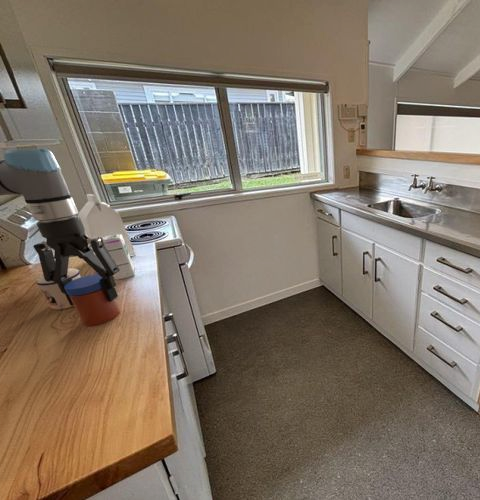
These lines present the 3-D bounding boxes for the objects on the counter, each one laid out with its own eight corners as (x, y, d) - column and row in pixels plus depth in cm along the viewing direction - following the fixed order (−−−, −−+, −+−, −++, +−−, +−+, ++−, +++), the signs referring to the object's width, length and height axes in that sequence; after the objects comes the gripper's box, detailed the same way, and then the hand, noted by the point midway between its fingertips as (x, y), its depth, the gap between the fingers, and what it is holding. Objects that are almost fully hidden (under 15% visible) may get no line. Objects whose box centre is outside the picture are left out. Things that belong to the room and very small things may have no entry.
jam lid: (89, 295, 69) (86, 289, 69) (57, 296, 70) (53, 289, 69) (117, 279, 77) (114, 273, 76) (87, 279, 77) (85, 273, 77)
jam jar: (81, 330, 72) (64, 294, 68) (83, 316, 78) (68, 282, 74) (120, 317, 76) (106, 283, 72) (119, 305, 82) (106, 273, 78)
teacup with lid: (47, 304, 84) (29, 269, 80) (86, 291, 91) (71, 258, 86) (55, 317, 77) (35, 280, 73) (96, 302, 84) (81, 267, 80)
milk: (92, 259, 116) (66, 196, 107) (125, 249, 125) (103, 191, 115) (102, 265, 110) (75, 199, 100) (136, 255, 119) (114, 193, 109)
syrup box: (135, 275, 100) (121, 237, 95) (114, 280, 97) (98, 241, 92) (135, 270, 105) (122, 233, 99) (115, 274, 102) (100, 236, 96)
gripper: (-10, 226, 62) (38, 313, 70) (96, 219, 64) (129, 303, 73) (22, 217, 69) (62, 297, 77) (116, 211, 71) (145, 289, 80)
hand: (94, 300), depth 75 cm, fingers closed on jam lid, 8 cm apart
